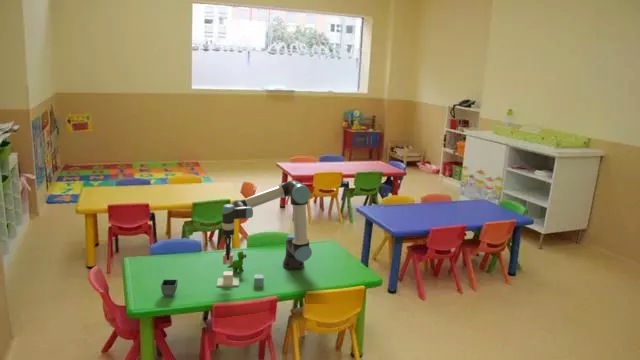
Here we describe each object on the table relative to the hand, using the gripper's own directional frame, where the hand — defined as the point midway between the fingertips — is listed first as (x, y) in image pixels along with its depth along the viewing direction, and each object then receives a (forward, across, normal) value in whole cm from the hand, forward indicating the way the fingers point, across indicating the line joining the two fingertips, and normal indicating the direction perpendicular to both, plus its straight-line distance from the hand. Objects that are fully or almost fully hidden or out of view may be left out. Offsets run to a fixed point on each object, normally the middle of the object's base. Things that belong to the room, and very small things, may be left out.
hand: (228, 262), depth 349 cm
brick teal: (+15, +3, +20) cm, 25 cm away
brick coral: (0, 0, 0) cm, 0 cm away
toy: (+15, -19, +5) cm, 25 cm away
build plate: (+15, 0, 0) cm, 15 cm away
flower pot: (+15, +17, -35) cm, 42 cm away
